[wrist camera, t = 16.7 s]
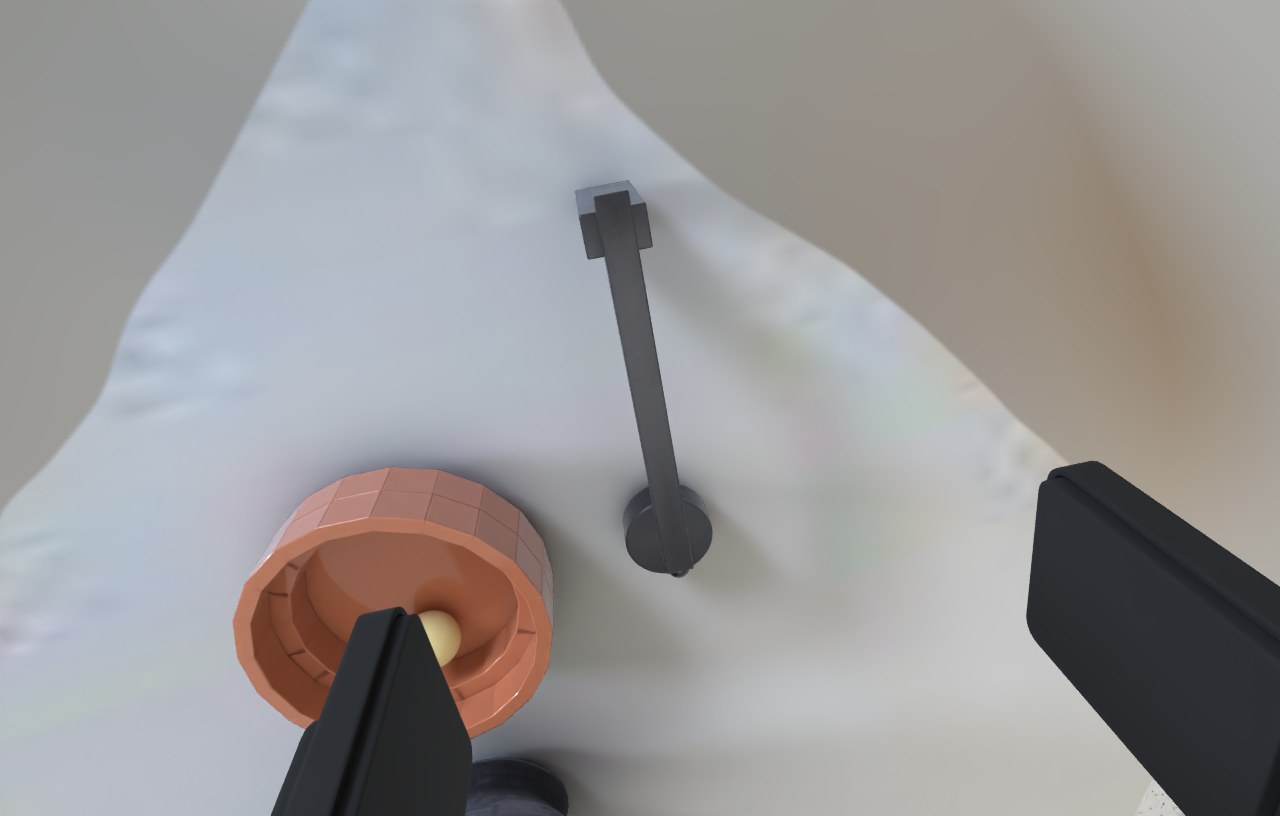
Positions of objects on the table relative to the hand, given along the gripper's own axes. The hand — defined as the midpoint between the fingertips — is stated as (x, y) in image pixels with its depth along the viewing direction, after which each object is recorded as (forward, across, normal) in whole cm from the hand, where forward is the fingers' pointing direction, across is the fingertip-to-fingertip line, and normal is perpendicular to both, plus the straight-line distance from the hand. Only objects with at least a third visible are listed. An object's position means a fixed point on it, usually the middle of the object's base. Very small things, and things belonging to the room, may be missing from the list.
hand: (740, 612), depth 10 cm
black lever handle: (+23, 0, +6) cm, 24 cm away
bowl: (+23, +14, +15) cm, 31 cm away
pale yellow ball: (+21, +14, +18) cm, 31 cm away
